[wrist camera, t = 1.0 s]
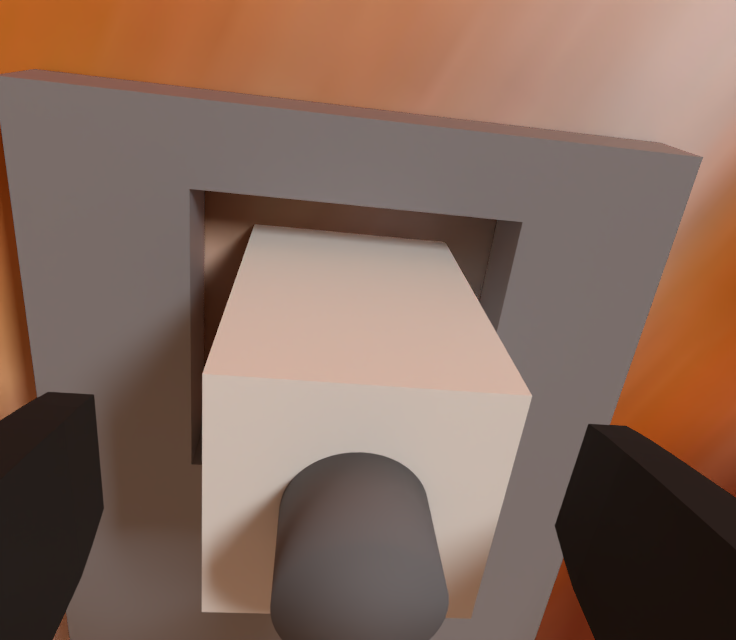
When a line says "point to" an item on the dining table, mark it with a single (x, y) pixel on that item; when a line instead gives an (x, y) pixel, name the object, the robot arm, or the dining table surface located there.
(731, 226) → the dining table surface
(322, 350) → the plug
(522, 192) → the grey board with holes
